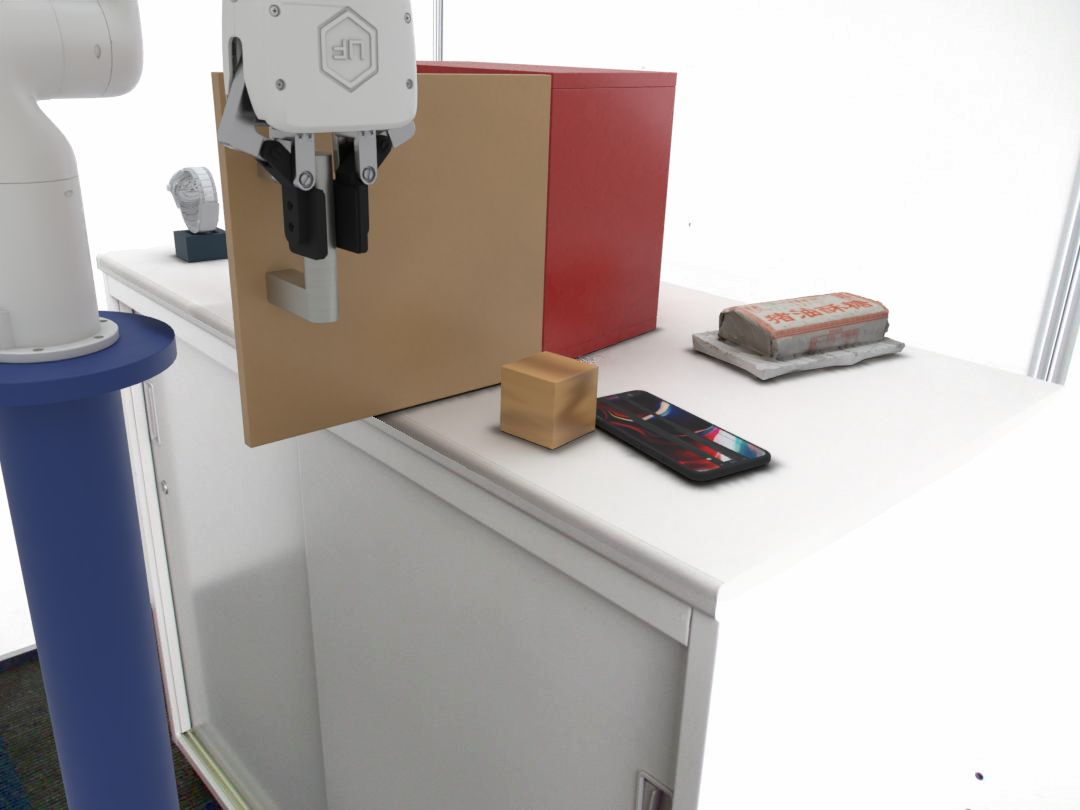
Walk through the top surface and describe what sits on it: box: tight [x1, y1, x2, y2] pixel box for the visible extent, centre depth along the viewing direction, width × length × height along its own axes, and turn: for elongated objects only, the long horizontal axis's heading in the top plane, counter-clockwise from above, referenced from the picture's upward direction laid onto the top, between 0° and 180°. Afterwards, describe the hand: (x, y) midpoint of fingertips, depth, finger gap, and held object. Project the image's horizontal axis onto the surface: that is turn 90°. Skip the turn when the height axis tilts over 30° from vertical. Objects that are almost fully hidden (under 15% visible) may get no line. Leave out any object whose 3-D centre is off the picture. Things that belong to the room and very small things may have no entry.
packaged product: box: [691, 291, 906, 381], centre depth 87 cm, size 18×5×10 cm
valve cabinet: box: [416, 60, 678, 359], centre depth 90 cm, size 18×26×24 cm
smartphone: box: [595, 389, 772, 482], centre depth 67 cm, size 7×1×15 cm
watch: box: [166, 166, 228, 263], centre depth 115 cm, size 6×8×11 cm
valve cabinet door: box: [210, 71, 551, 449], centre depth 65 cm, size 8×26×24 cm, turn 132°
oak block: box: [499, 351, 600, 450], centre depth 67 cm, size 5×5×5 cm
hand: (328, 250), depth 55 cm, fingers closed on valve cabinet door, 2 cm apart
